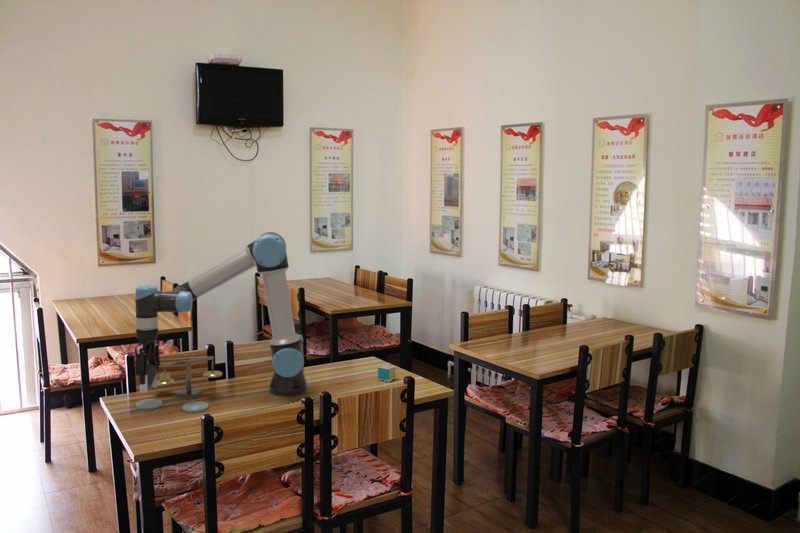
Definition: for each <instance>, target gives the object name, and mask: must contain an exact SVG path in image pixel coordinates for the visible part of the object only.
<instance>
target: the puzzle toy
mask: <svg viewBox="0 0 800 533" xmlns="http://www.w3.org/2000/svg"><path fill="white" fill-rule="evenodd" d="M396 370H397V369H396V367H395V366H391V365H388V364H384V365H381V366H380V367H377V379H378V378H379V379H383V380H391V379H393V378H395V379H396Z"/></svg>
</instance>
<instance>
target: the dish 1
mask: <svg viewBox="0 0 800 533" xmlns="http://www.w3.org/2000/svg"><path fill="white" fill-rule="evenodd" d="M162 406H163V401H162V399H159V398H144V399H141V400H139V401H136V402H135V409H137V410H141V411H143V410H144V411H148V410H155V409H158V408H161V407H162Z"/></svg>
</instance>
